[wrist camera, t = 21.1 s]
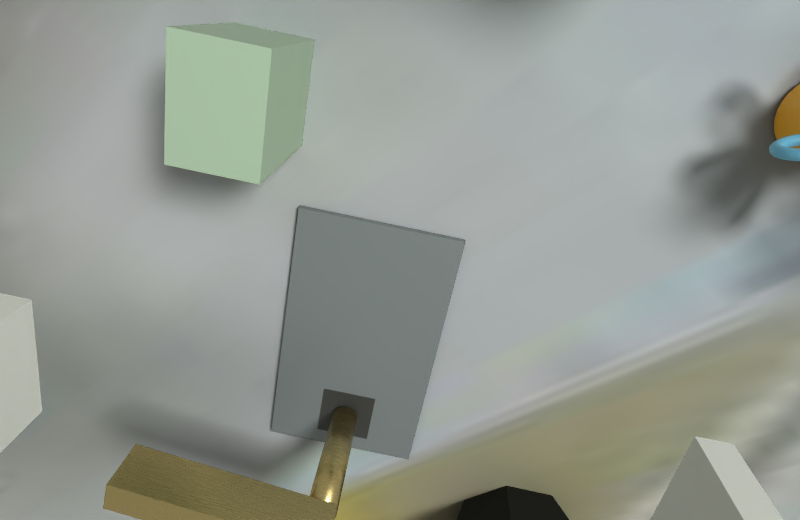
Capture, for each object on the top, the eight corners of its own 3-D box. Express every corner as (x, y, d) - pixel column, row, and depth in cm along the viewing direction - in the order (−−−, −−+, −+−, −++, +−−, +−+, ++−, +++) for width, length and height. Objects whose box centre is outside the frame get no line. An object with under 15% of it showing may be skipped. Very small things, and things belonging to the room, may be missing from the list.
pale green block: (234, 22, 41) (166, 26, 31) (314, 39, 41) (271, 48, 31) (227, 129, 44) (163, 164, 34) (301, 145, 44) (259, 184, 34)
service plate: (300, 205, 46) (298, 207, 46) (464, 239, 47) (465, 242, 46) (272, 427, 56) (271, 431, 56) (408, 454, 56) (408, 459, 56)
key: (192, 379, 53) (103, 508, 40) (196, 359, 52) (106, 484, 39) (353, 429, 54) (321, 572, 41) (360, 411, 53) (330, 551, 40)
